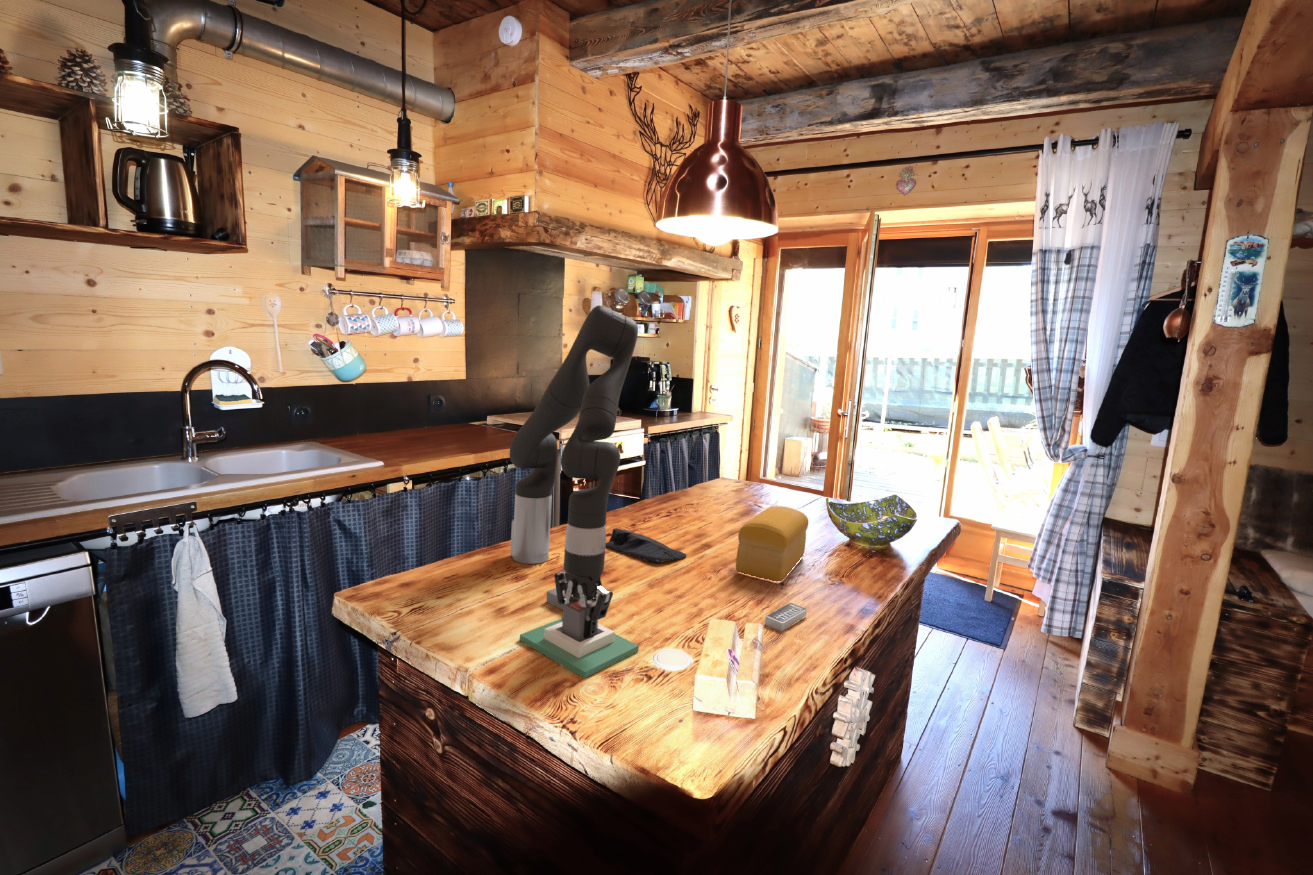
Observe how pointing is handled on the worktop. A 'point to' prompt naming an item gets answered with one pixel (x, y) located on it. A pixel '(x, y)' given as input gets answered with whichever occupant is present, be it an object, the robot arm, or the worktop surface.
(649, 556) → the dark slate chunk
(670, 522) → the worktop surface
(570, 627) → the keyed plug
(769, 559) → the bread
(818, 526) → the worktop surface
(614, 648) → the circuit board
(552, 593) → the grey square domed block
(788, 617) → the multiport hub
